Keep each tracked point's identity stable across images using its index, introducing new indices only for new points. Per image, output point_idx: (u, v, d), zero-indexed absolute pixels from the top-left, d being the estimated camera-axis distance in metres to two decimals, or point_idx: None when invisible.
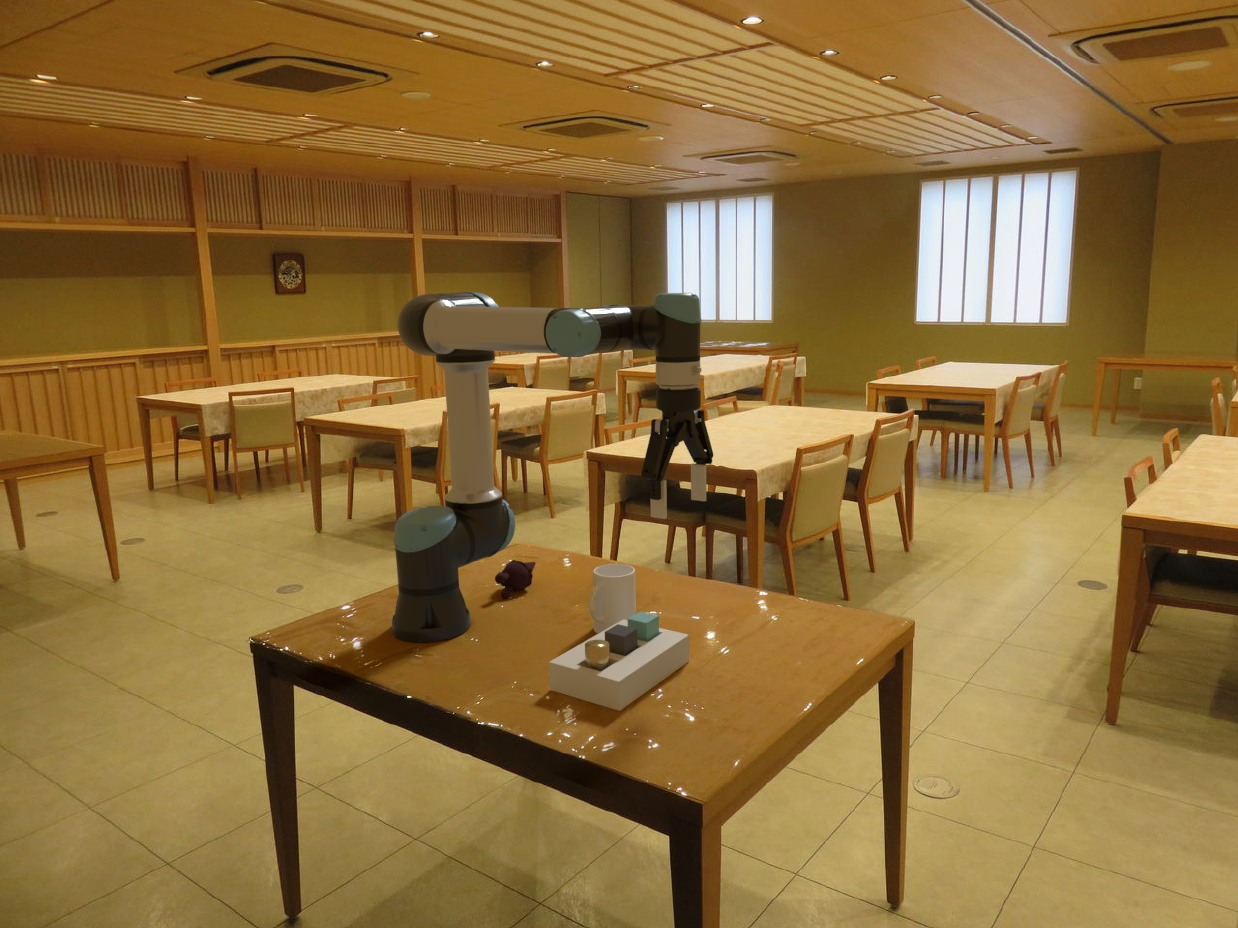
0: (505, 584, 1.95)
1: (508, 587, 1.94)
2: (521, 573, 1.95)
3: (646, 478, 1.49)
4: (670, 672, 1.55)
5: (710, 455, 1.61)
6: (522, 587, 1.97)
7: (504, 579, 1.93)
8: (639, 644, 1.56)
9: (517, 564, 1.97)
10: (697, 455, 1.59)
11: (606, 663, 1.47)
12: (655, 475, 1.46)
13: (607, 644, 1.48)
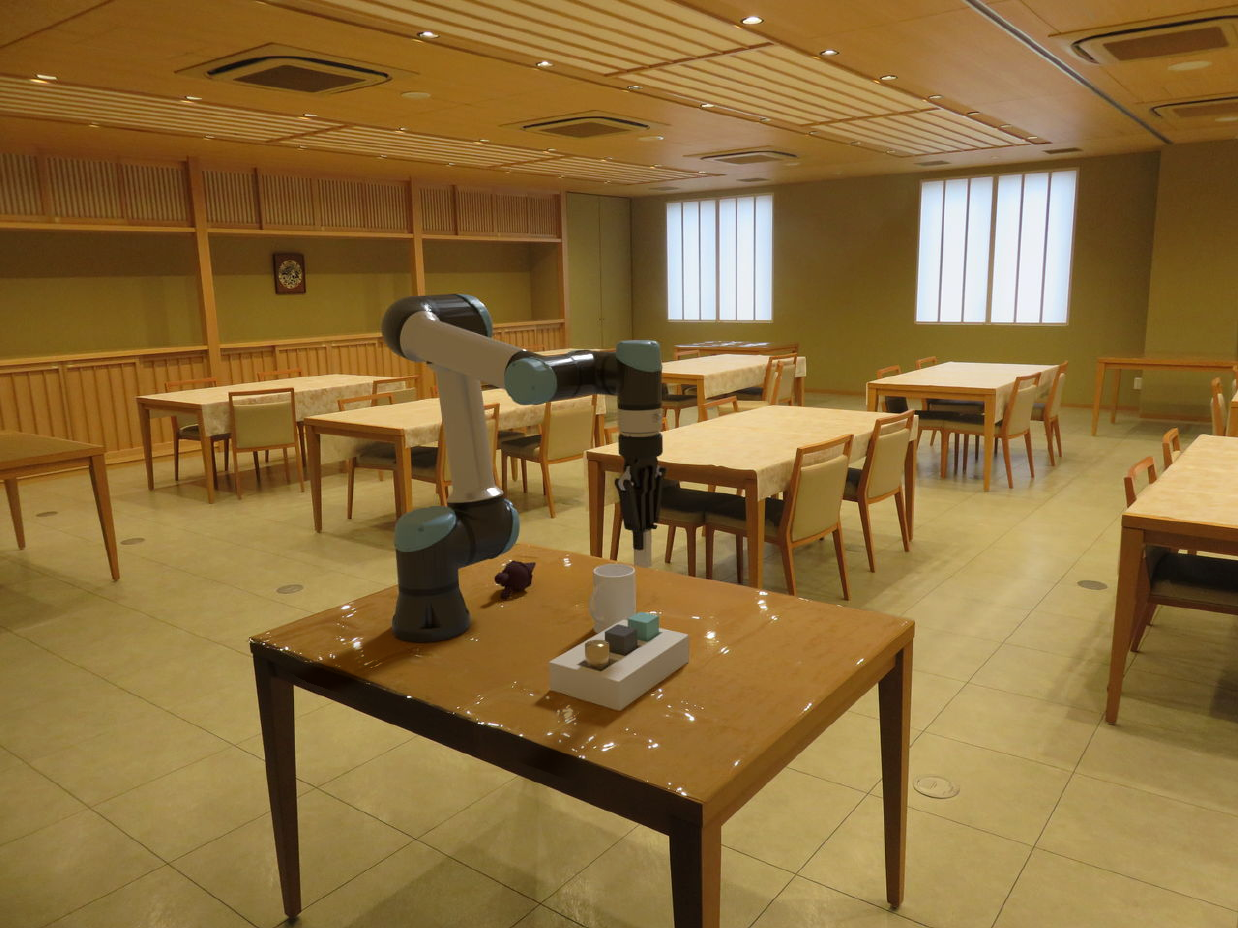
0: (505, 584, 1.95)
1: (508, 587, 1.94)
2: (520, 574, 1.95)
3: None
4: (670, 672, 1.55)
5: (656, 518, 1.57)
6: (522, 587, 1.96)
7: (504, 579, 1.92)
8: (639, 644, 1.56)
9: (517, 564, 1.96)
10: (645, 514, 1.56)
11: (606, 663, 1.47)
12: (637, 528, 1.52)
13: (607, 644, 1.48)
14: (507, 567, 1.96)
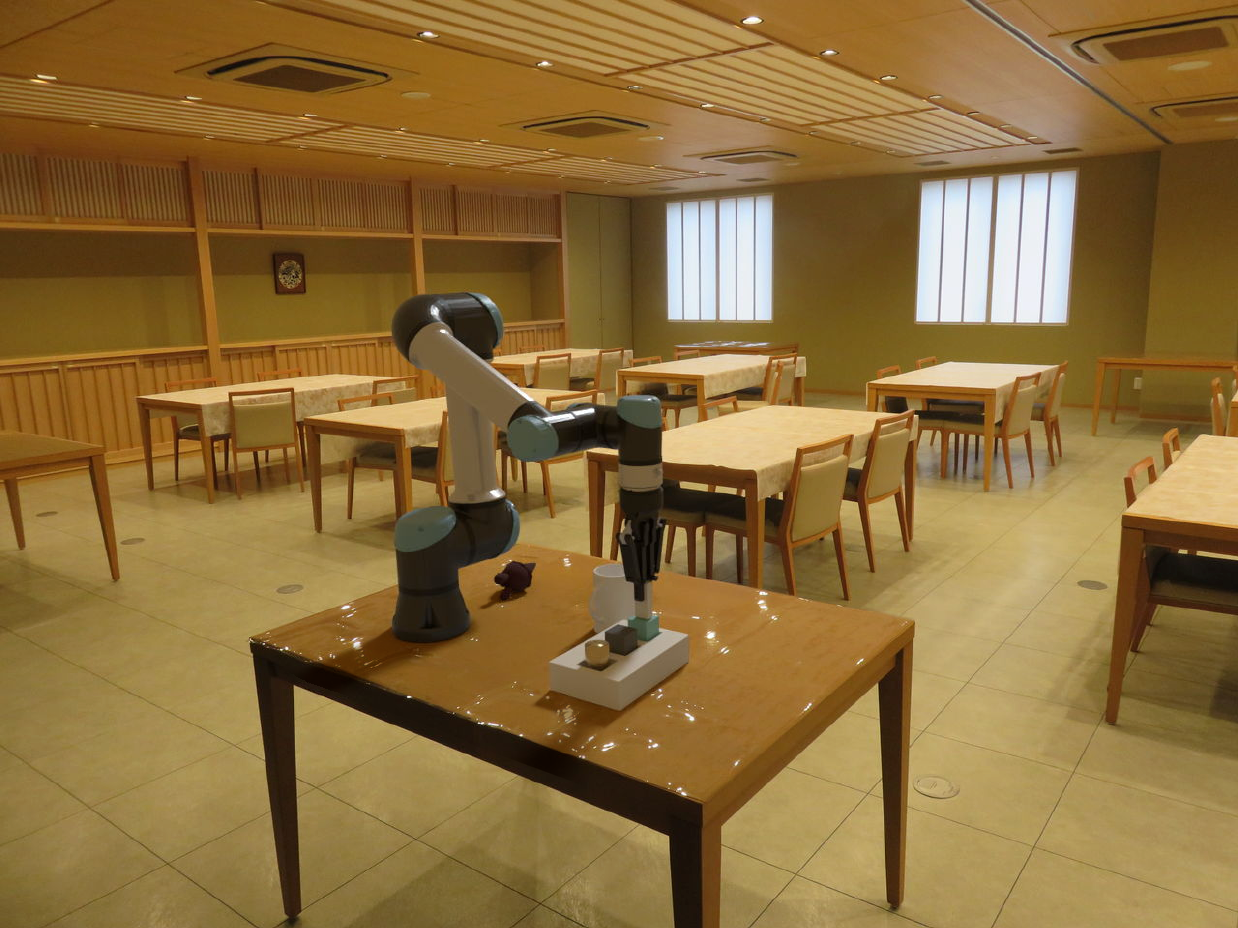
0: (504, 585, 1.95)
1: (507, 588, 1.94)
2: (520, 574, 1.95)
3: None
4: (670, 672, 1.55)
5: (656, 569, 1.59)
6: (521, 588, 1.96)
7: (503, 580, 1.92)
8: (639, 644, 1.56)
9: (516, 564, 1.96)
10: (646, 565, 1.58)
11: (606, 663, 1.47)
12: (638, 581, 1.54)
13: (607, 644, 1.48)
14: (507, 567, 1.96)
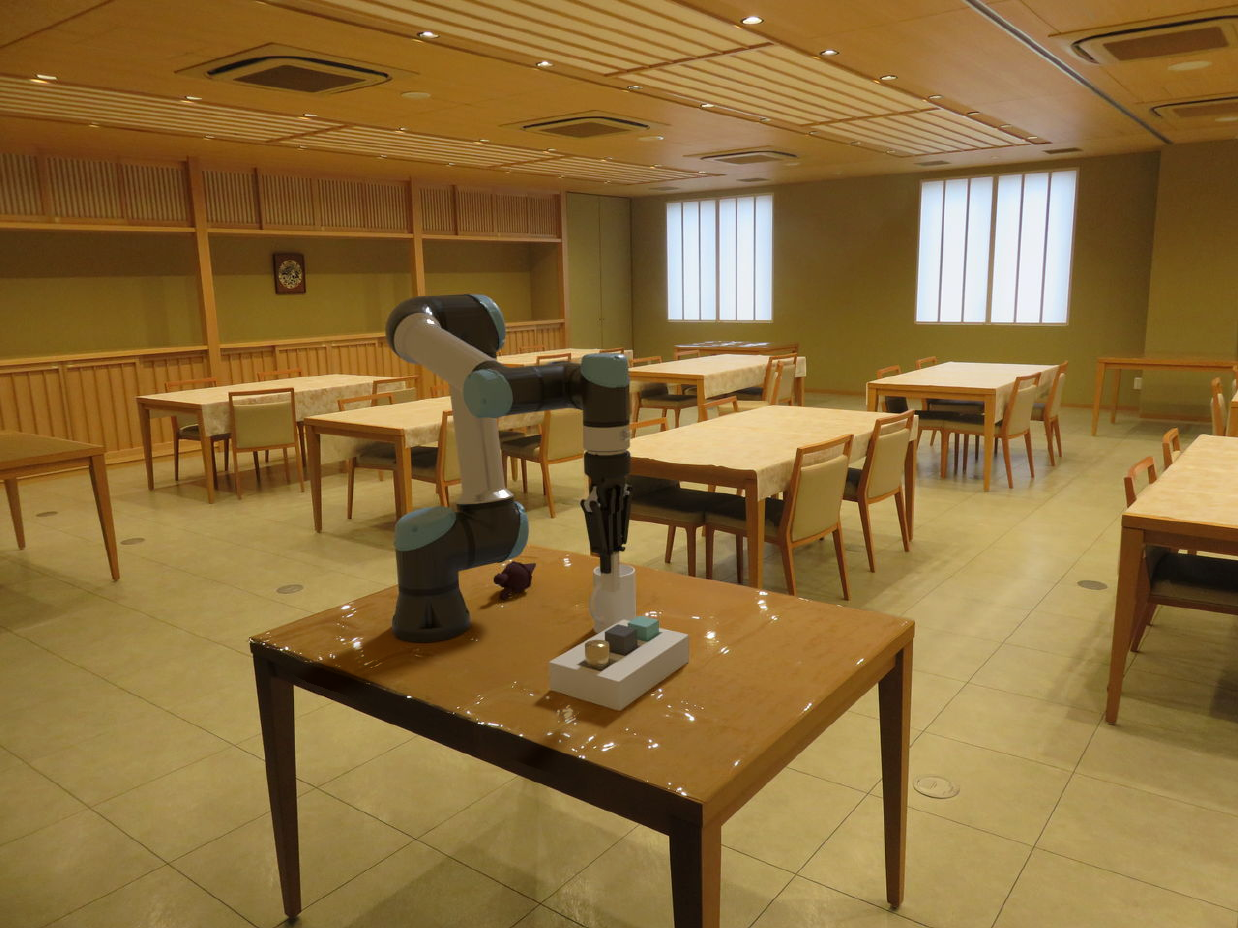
0: (504, 585, 1.95)
1: (507, 588, 1.93)
2: (520, 575, 1.94)
3: None
4: (670, 672, 1.55)
5: (624, 539, 1.50)
6: (521, 588, 1.96)
7: (503, 580, 1.92)
8: (639, 644, 1.56)
9: (516, 565, 1.96)
10: (612, 536, 1.48)
11: (606, 663, 1.47)
12: (605, 551, 1.45)
13: (607, 644, 1.48)
14: (507, 568, 1.96)
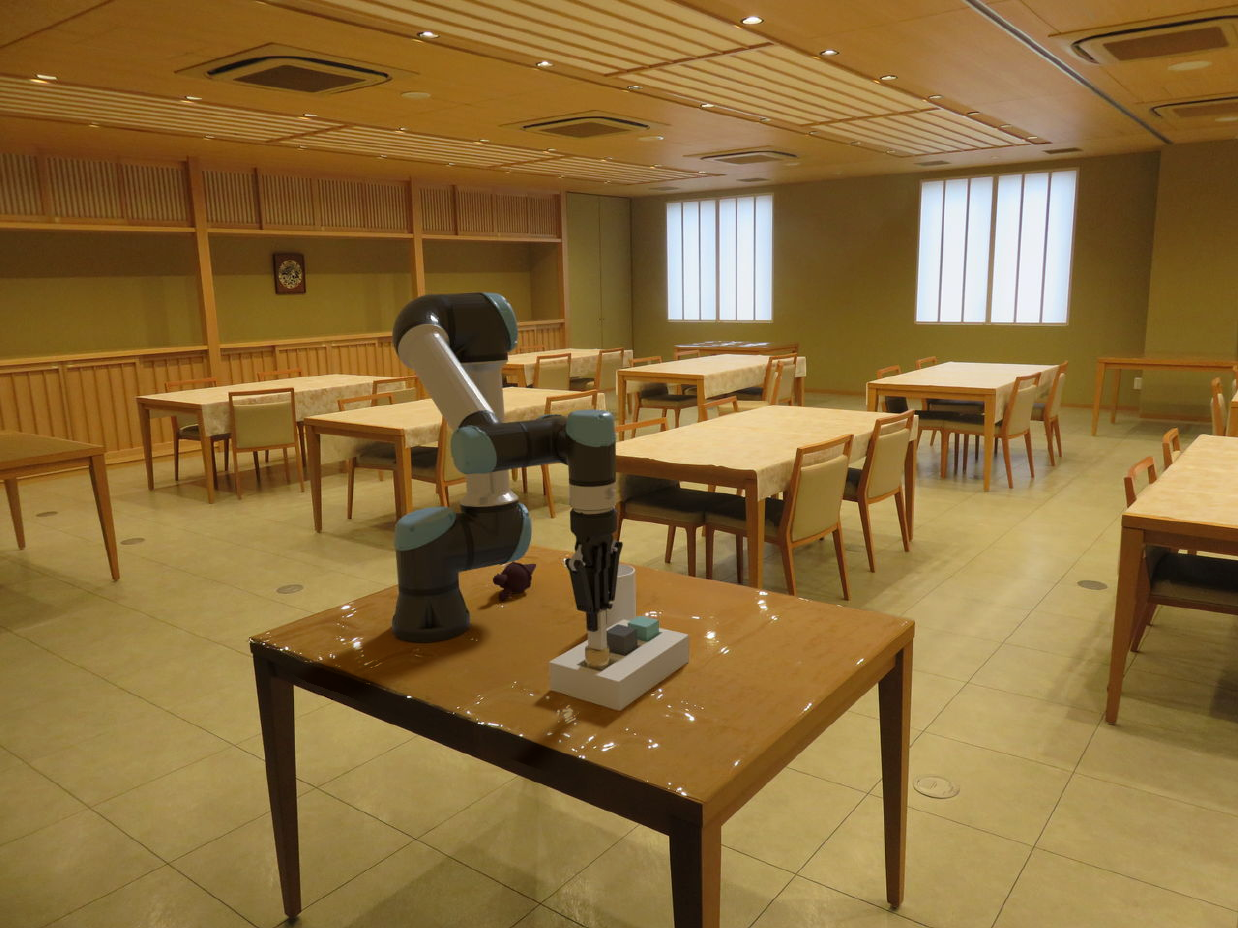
0: (504, 586, 1.94)
1: (506, 589, 1.93)
2: (519, 575, 1.94)
3: None
4: (670, 672, 1.55)
5: (611, 596, 1.48)
6: (521, 589, 1.95)
7: (502, 581, 1.92)
8: (639, 644, 1.56)
9: (516, 565, 1.96)
10: (599, 593, 1.47)
11: (606, 667, 1.48)
12: (590, 610, 1.43)
13: (607, 648, 1.48)
14: (506, 568, 1.95)
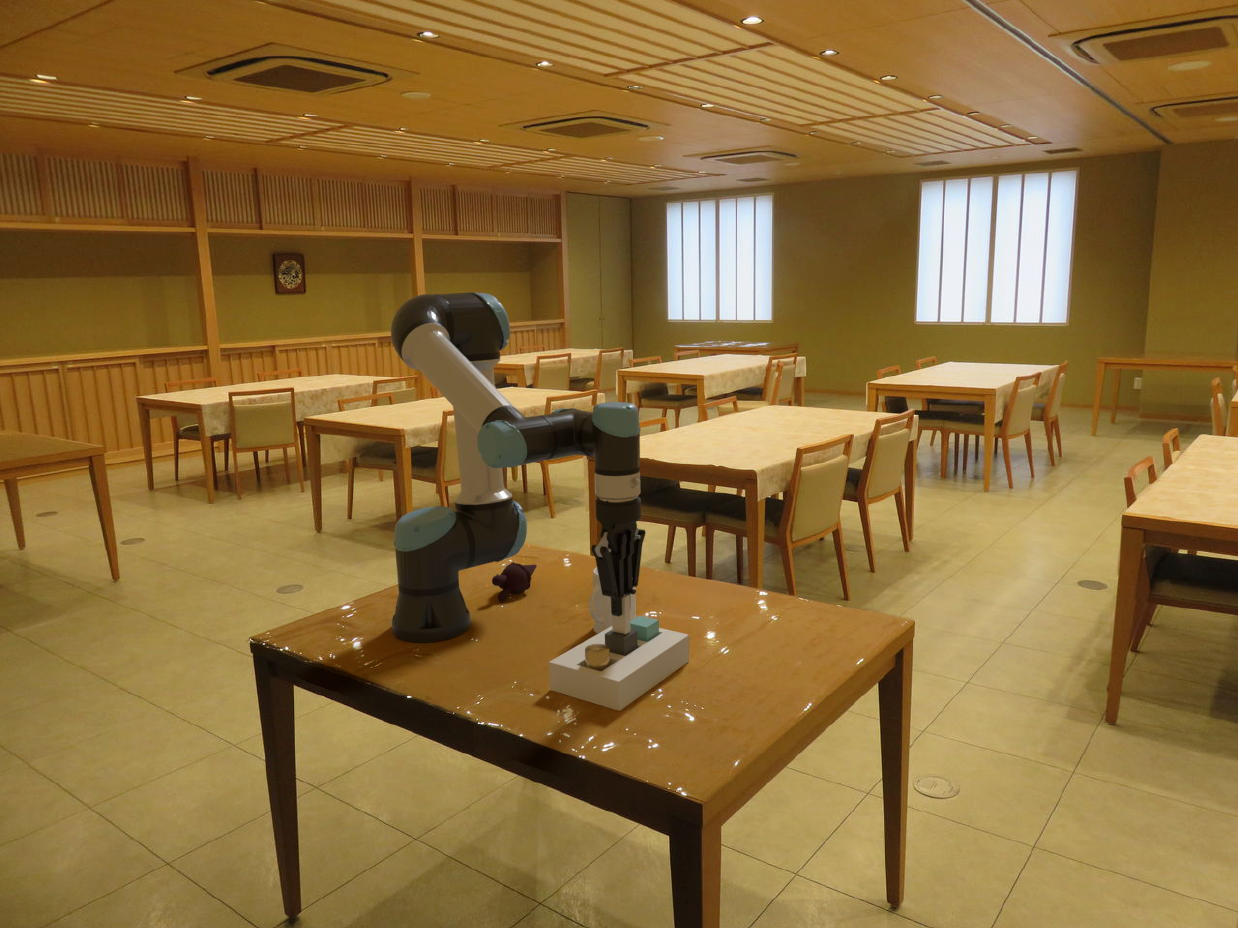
0: (503, 586, 1.94)
1: (505, 590, 1.93)
2: (519, 576, 1.94)
3: None
4: (670, 672, 1.55)
5: (635, 582, 1.54)
6: (520, 590, 1.95)
7: (501, 581, 1.91)
8: (639, 644, 1.56)
9: (515, 566, 1.95)
10: (623, 579, 1.52)
11: None
12: (615, 595, 1.49)
13: (607, 648, 1.48)
14: (506, 569, 1.95)
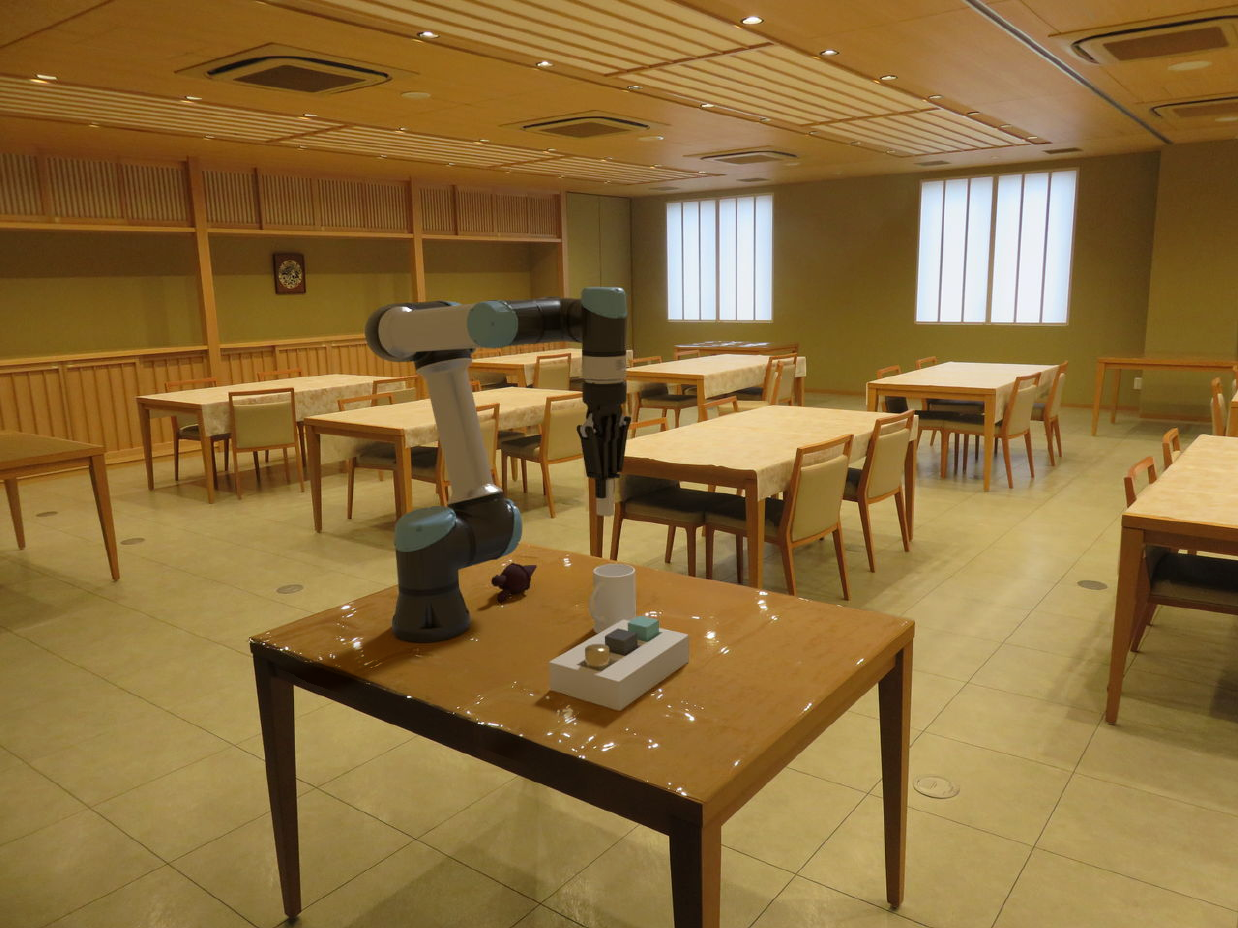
0: (502, 587, 1.94)
1: (505, 590, 1.92)
2: (518, 576, 1.93)
3: (593, 478, 1.56)
4: (670, 672, 1.55)
5: (619, 467, 1.57)
6: (520, 590, 1.94)
7: (500, 582, 1.91)
8: (639, 644, 1.56)
9: (515, 567, 1.95)
10: (608, 463, 1.56)
11: None
12: (599, 476, 1.53)
13: (607, 648, 1.48)
14: (505, 569, 1.95)
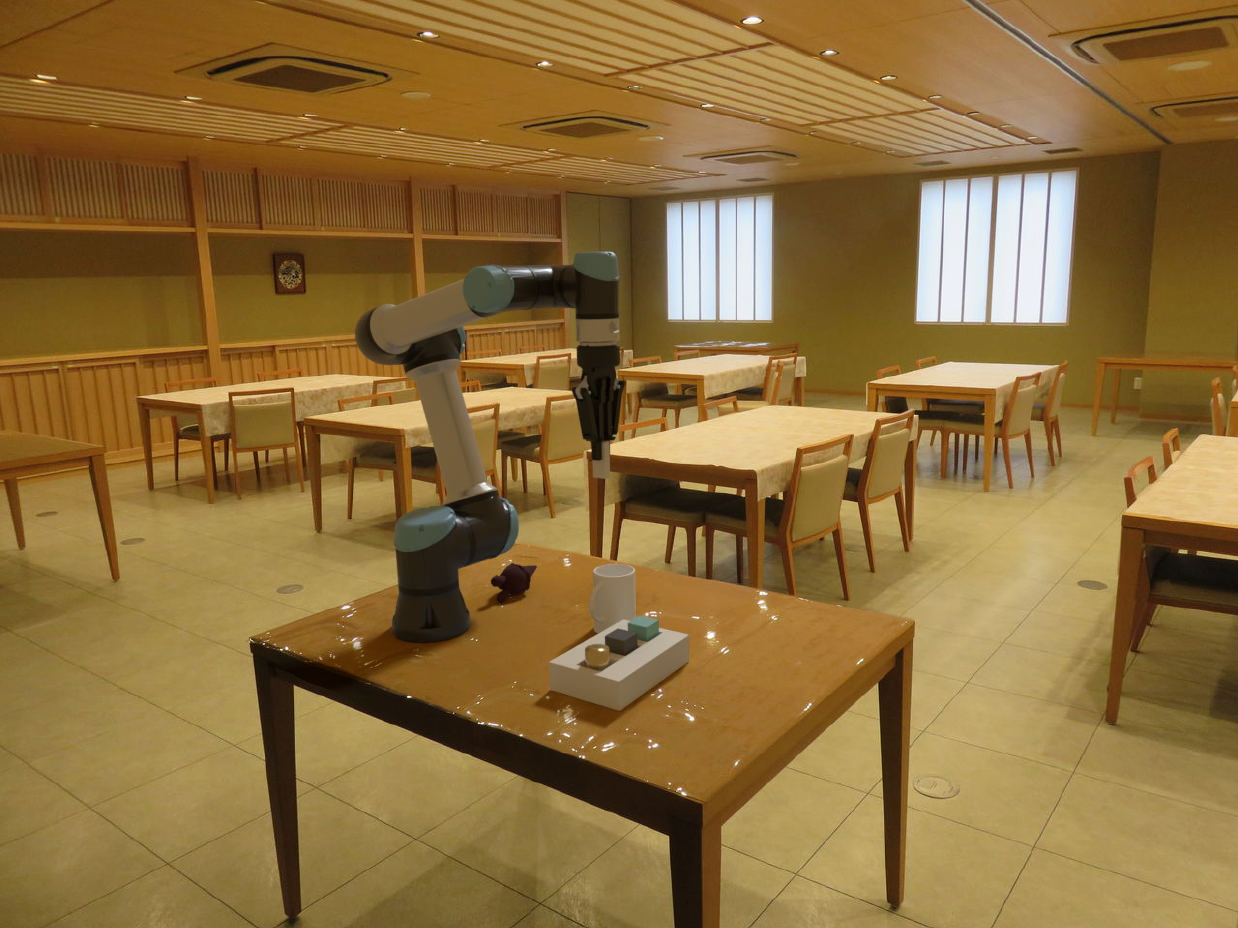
0: (502, 587, 1.93)
1: (504, 590, 1.92)
2: (518, 577, 1.93)
3: None
4: (670, 672, 1.55)
5: (614, 430, 1.60)
6: (519, 591, 1.94)
7: (500, 582, 1.91)
8: (639, 644, 1.56)
9: (515, 567, 1.94)
10: (603, 425, 1.59)
11: None
12: (595, 437, 1.55)
13: (607, 648, 1.48)
14: (505, 570, 1.95)
